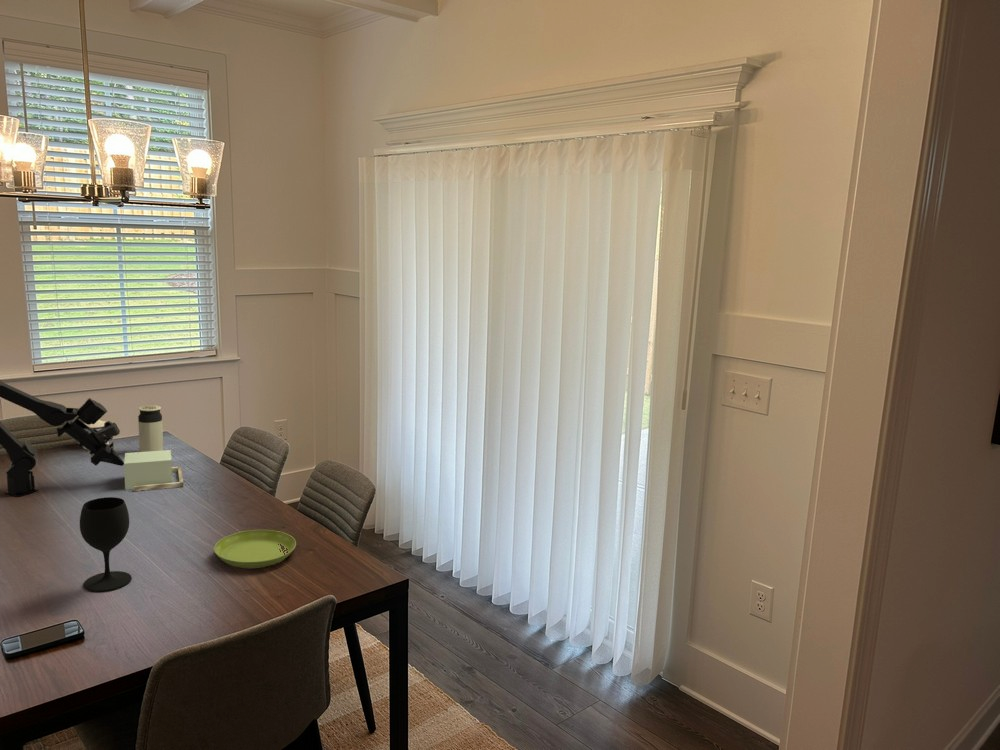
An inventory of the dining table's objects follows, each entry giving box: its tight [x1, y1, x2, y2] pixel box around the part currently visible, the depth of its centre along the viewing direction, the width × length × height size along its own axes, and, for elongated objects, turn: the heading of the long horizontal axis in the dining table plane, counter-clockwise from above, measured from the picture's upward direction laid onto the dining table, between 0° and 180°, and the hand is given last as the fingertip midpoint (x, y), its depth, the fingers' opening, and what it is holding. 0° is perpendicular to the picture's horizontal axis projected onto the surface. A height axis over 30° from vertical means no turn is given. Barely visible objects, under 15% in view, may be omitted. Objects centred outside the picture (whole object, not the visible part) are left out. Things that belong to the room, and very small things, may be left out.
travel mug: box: [137, 404, 164, 452], centre depth 273 cm, size 8×8×18 cm
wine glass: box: [79, 496, 133, 593], centre depth 175 cm, size 10×10×20 cm
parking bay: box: [133, 465, 184, 492], centre depth 248 cm, size 14×18×2 cm
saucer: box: [213, 529, 297, 569], centre depth 196 cm, size 21×21×3 cm
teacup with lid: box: [82, 419, 110, 450], centre depth 278 cm, size 12×9×12 cm
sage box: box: [123, 449, 173, 490], centre depth 245 cm, size 14×12×9 cm
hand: (123, 464), depth 242 cm, fingers closed
